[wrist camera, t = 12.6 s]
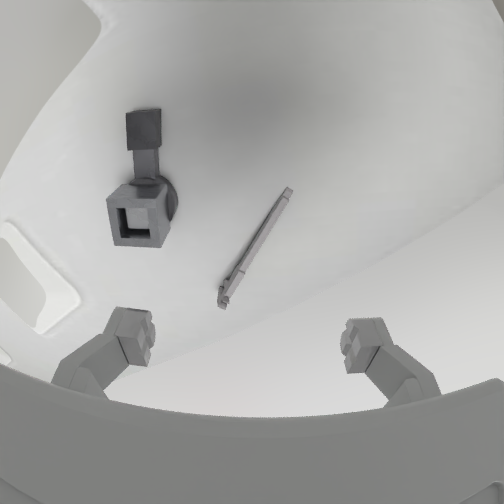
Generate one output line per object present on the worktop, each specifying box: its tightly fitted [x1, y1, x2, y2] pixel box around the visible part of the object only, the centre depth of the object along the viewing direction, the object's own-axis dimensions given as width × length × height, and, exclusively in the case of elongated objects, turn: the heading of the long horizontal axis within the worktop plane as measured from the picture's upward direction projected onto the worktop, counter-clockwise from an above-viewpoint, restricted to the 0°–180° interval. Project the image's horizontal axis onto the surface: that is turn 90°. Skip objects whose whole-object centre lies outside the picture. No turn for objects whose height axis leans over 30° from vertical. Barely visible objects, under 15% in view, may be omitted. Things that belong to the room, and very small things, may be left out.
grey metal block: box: [106, 184, 170, 248], centre depth 35 cm, size 7×7×5 cm
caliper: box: [217, 187, 293, 310], centre depth 41 cm, size 20×1×6 cm, turn 150°
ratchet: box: [125, 109, 178, 229], centre depth 34 cm, size 17×8×6 cm, turn 177°
